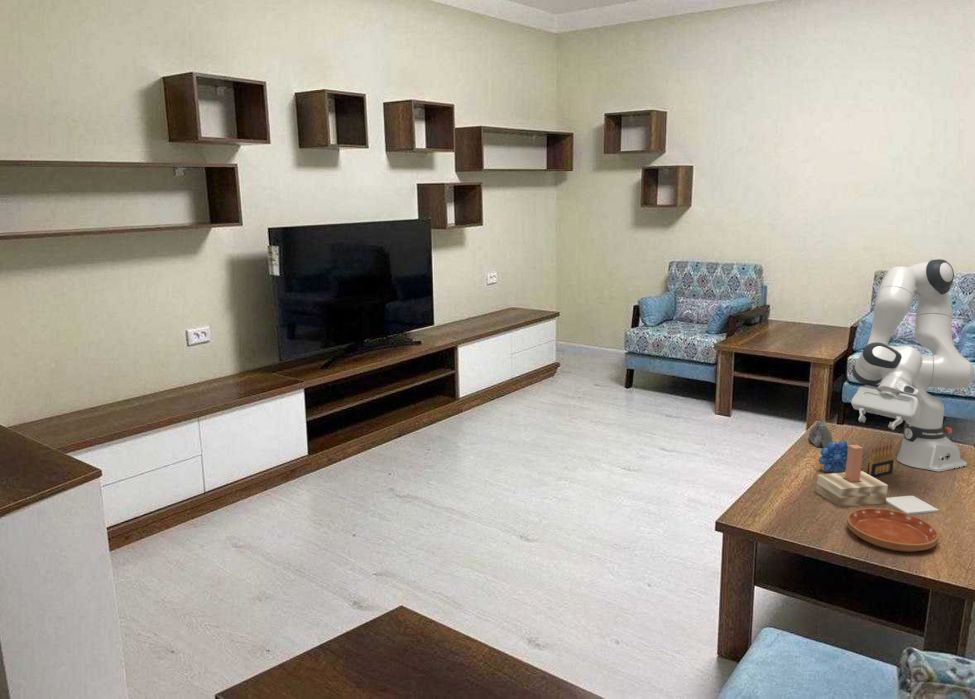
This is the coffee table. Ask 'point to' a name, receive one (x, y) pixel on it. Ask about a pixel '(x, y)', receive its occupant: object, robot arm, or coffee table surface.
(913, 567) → the coffee table surface
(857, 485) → the cream block with hole
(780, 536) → the coffee table surface
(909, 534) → the saucer
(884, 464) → the ammunition clip
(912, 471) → the coffee table surface
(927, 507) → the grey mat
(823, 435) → the mineral rock
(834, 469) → the grapes
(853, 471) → the wooden block
